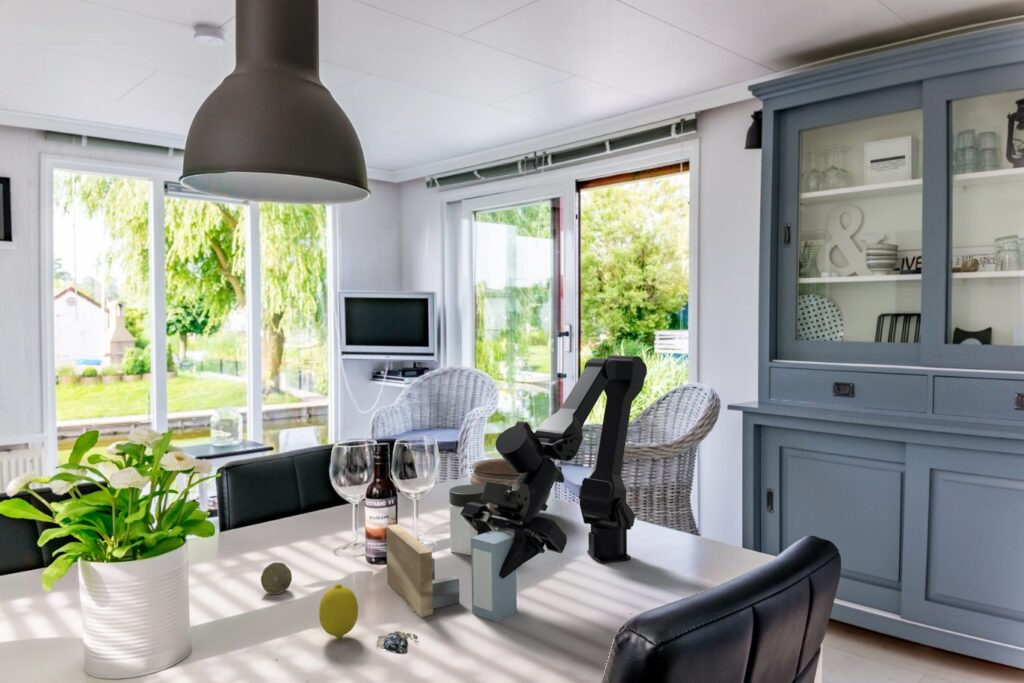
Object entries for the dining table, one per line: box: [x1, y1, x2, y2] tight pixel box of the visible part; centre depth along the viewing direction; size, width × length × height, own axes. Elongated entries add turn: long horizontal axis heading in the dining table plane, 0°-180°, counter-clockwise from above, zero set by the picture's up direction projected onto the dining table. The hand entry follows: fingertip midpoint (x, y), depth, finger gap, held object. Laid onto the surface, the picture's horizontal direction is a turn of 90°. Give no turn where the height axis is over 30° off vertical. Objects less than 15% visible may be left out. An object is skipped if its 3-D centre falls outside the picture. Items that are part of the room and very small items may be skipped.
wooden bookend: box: [385, 523, 460, 618], centre depth 120 cm, size 8×17×10 cm, turn 27°
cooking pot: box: [468, 457, 552, 516], centre depth 165 cm, size 25×19×12 cm
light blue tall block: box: [470, 530, 518, 623], centre depth 113 cm, size 5×5×12 cm
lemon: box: [318, 583, 359, 639], centre depth 104 cm, size 6×6×8 cm
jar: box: [448, 484, 490, 556], centre depth 144 cm, size 9×8×12 cm
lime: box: [260, 561, 293, 595], centre depth 123 cm, size 4×5×5 cm
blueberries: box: [376, 630, 419, 654], centre depth 102 cm, size 7×8×2 cm
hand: (487, 573), depth 112 cm, fingers open, 5 cm apart
